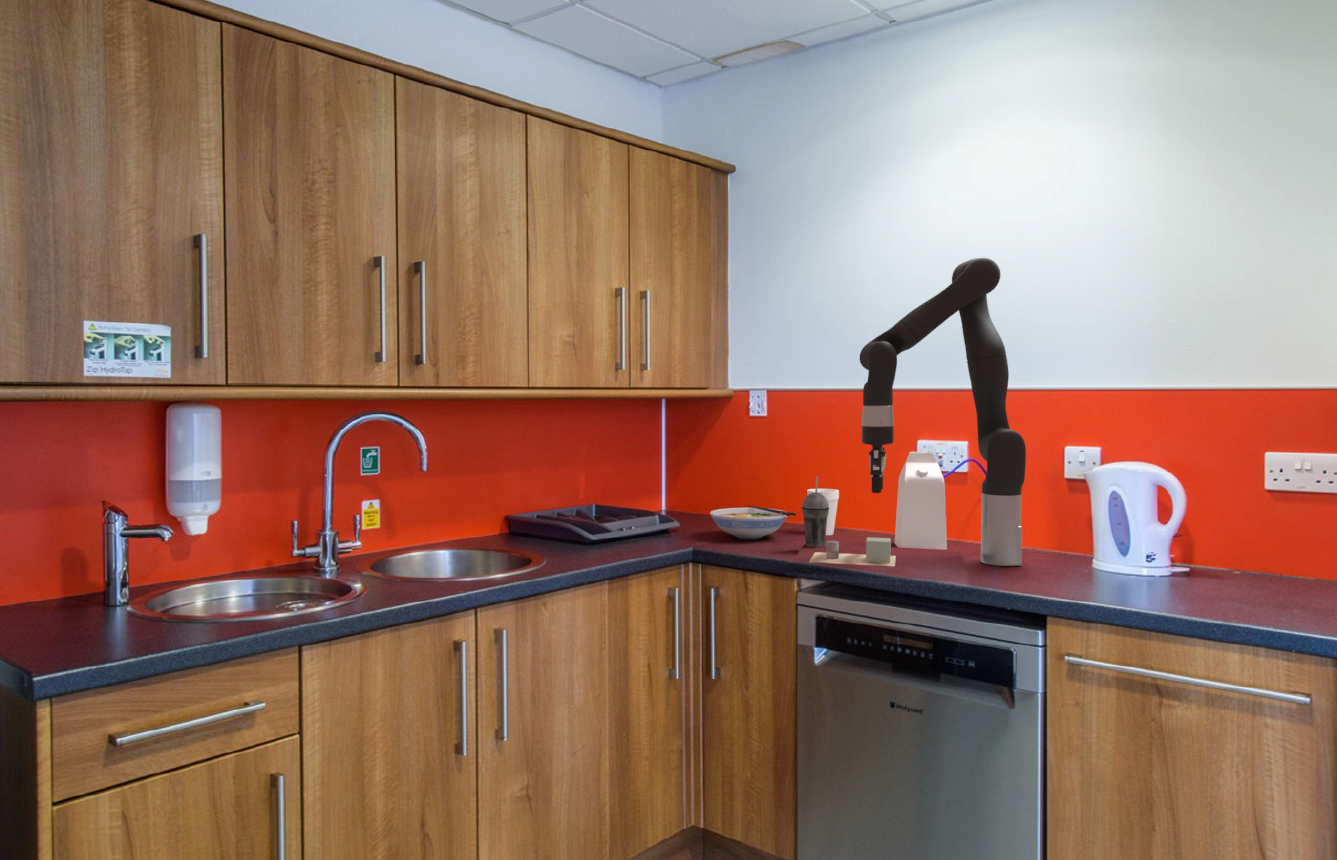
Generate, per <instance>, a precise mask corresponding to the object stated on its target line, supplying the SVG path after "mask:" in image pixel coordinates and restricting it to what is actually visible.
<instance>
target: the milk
mask: <svg viewBox="0 0 1337 860" xmlns="http://www.w3.org/2000/svg"><path fill="white" fill-rule="evenodd" d="M896 498H897V501H896V513H895V514H896V517H895V529H894V530H895V531H894V544H895V546H896V547H897V548H899V549H901V548H904V549H923V550H925V549H927V550H948V542H947V541H948V539H947V512H946V507H947V506H946V484H945V478H944V475H943V473H942V471H941V468H940V466H939V463H938V461H937V458H936V456H935V455H934V453H933V452H932V451H910V452H909V453H908V456H907V458H906V460H905V462H904V464H903V467H902V469H901V471H900V474H899V476H898V486H897V497H896Z"/></svg>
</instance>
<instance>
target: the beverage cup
mask: <svg viewBox="0 0 1337 860" xmlns="http://www.w3.org/2000/svg"><path fill="white" fill-rule="evenodd" d="M818 483H819V476H818V475H816V476H815V489H816V491H815V493H811V494H809V495H808V496H807V495H806V496H805V497H804V499H803V501H802V505H801V510H802V516H803V525H804V527H803V528H804V538H805V539H804V540H805V547H807V548H823V547H826V536H827V535H826V525H827V516H828V512H829V504H828V501H827V499H826V498H825V497H824V496H823V495H822V494H820V493H817V489H819V487H818V485H819V484H818Z"/></svg>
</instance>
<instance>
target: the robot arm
mask: <svg viewBox="0 0 1337 860" xmlns="http://www.w3.org/2000/svg"><path fill="white" fill-rule="evenodd" d="M951 275H952V276H951V283H950V284H949V285H948V286H947V287H946V288H944V289H943V290H941V291H940V292H939V293H937V294H936V295H934V296H932V297H931V298H929V299H928V300H926V301H925V302H923V303H921V304H920V305H919V306H916V307H915V308H914V309H912V310H911V311H909V313H907V314H906V315H905V316H903V317H902V318H901V319H900V320H898V321H897V322H896V323H895V324H894V325H893V326H892V327H890V328H888V330H886V331H884V332H882V333H881V334H879V335H878V336H876V337H874V339H872V340H871V341H868V342H867V344H866V345H864V346H863V347H862V349H861V351H860V353H859V362H860V364H861V366H862V367H863V368H864V369H865V370H867V371H868V376H867V381H866V382H865V383H864V385H863V391H862V414H861V443H862V444H864V445H871V446H872V447H871V449H870V451H869V452H868V459H869V465H868V466H869V470H870V471H869V474H870V478H871V493H872V494H880V493H882V490H883V489H884V473H885V469H886V459H887V451H885V448H884V445H886V446H887V445H892V444H894V442H895V441H894V439H895V437H894V433H895V432H894V431H895V430H894V429H895V427H894V425H895V424H894V422H895V421H894V420H895V419H894V418H895V417H894V415H895V414H894V406H893V405H894V403H893V402H894V401H893V399H894V398H893V393H894V392H893V387H894V383H895V377H896V372H897V368H898V367H897V366H898V355H900V354H902V353H903V352H905V351H908V350H910V349H912V348H914V347H915V346H916V345H917V344H919V343H921V341H922V340H923V339H925V338H926V337H928V335H930V334H931V333H932V332H933V331H935V330H936V329H937V328H938V327H940V326H941V325H943V323H944V322H946V321H947V320H948V319H950V318H951V317H952V316H953V315H954V314H956V313H957V312H958V313H959V316H960V322H961V328H962V329H961V330H962V336H963V341H964V348H965V356H966V357H965V358H966V360H967V361H966V364H967V370H968V375H969V380H970V385H971V392H972V396H973V402H974V407H975V413H976V426H977V445H978V446H977V447H978V452H979V453H980V456H981V457H982V459H983V460H984V461H985V462H986V475H985V477H984V480H983V481H982V482H981V508H980V509H981V510H980V511H981V513H980V514H981V515H980V517H981V521H980V522H981V523H980V562H981V563H983V564H985V565H990V566H1003V567H1008V566H1009V567H1014V566H1022V563H1023V562H1022V561H1023V559H1022V558H1023V557H1022V556H1023V555H1022V554H1023V551H1022V550H1023V526H1022V491H1023V490H1022V488H1023V485H1024V483H1025V479H1026V478H1025V477H1026V463H1027V461H1026V459H1027V458H1026V457H1027V448H1026V443H1025V440H1024V438H1023V436H1022V435H1021V434H1020V433H1019V432H1017V431H1016V430H1013V429H1011V428H1010V425H1009V420H1008V415H1007V407H1006V405H1007V404H1006V403H1007V402H1006V401H1007V393H1008V387H1009V376H1010V375H1009V373H1010V372H1009V364H1008V358H1007V352H1006V348H1005V345H1004V341H1003V340H1002V337H1001V336H1000V334H999V332H998V330H997V329H996V327H995V325H994V323H993V321H992V318H991V315H990V311H989V306H988V305H989V304H988V297H987V295H988V294H990V293H991V292H993V291H994V290H995V289H996V287H997V286H998V284H999V282H1000V280H1001V270H1000V267H999V265H998V263H997V262H996V261H995V260H994V259H992V258H989V257H987V256H984V257H983V256H979V257H975V258H972V259H969V260H967V261H963V262H962V263H959V264H957V266H956V267H955V269H954V270H953V273H952V274H951Z"/></svg>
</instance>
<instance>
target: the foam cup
mask: <svg viewBox="0 0 1337 860" xmlns="http://www.w3.org/2000/svg"><path fill="white" fill-rule="evenodd" d="M815 491H816V488H809V489H807V490H806V492H807V493H806V494H807V495H806V496H808V495H809V494H811V493H815ZM817 493H820V494H822V495H823V496H824V497H825V498H826V499H827V501H828V504H829V512H828V516H827V525H826V536H833V535H834V531H835V526H836V517H837V511H838V503H839V499H840V490H839V489H833V488H817Z"/></svg>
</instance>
